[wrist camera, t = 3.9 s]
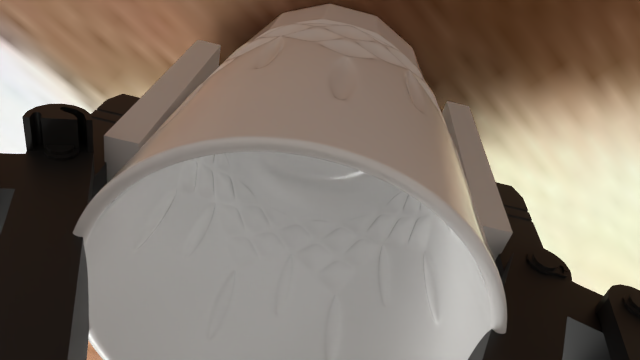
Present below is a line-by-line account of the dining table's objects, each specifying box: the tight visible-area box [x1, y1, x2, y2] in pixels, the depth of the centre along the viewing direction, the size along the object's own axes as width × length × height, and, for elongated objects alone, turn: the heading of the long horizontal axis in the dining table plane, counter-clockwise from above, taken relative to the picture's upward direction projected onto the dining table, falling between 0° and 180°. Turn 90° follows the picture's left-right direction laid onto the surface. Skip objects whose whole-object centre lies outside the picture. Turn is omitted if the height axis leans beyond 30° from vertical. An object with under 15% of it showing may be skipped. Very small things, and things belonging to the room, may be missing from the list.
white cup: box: [73, 4, 507, 360], centre depth 13 cm, size 8×8×10 cm
